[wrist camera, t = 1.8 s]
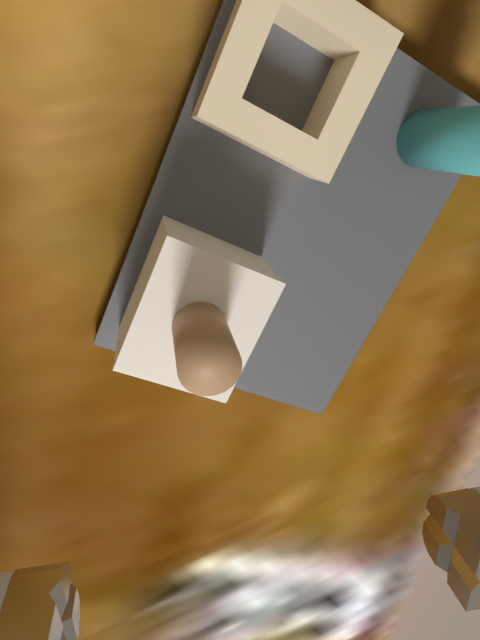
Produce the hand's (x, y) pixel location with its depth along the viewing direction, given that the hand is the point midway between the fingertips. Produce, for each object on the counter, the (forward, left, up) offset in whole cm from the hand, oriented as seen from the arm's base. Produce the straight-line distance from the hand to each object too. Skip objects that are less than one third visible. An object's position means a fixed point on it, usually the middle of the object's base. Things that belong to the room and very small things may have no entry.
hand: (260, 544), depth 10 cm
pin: (+13, -8, -17) cm, 23 cm away
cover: (0, 0, -17) cm, 17 cm away
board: (+5, -4, -19) cm, 20 cm away
